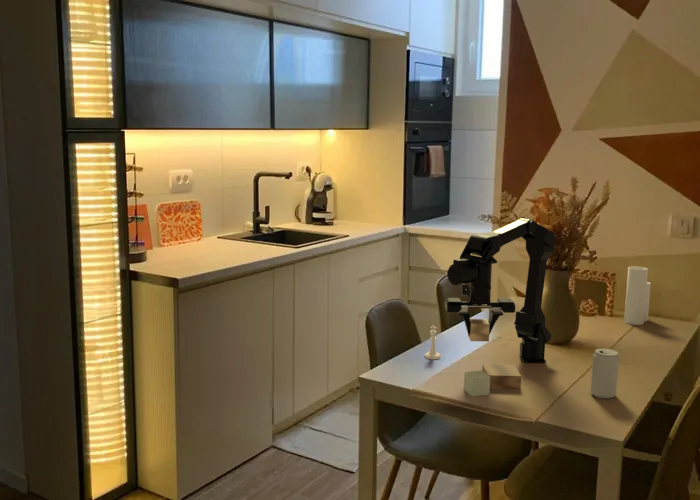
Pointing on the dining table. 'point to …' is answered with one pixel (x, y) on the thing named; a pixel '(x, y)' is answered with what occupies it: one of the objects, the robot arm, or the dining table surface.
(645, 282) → the vase
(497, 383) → the pedestal
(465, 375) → the sage block
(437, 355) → the chess piece
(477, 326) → the oak cube
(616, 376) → the beverage can
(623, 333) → the dining table surface
